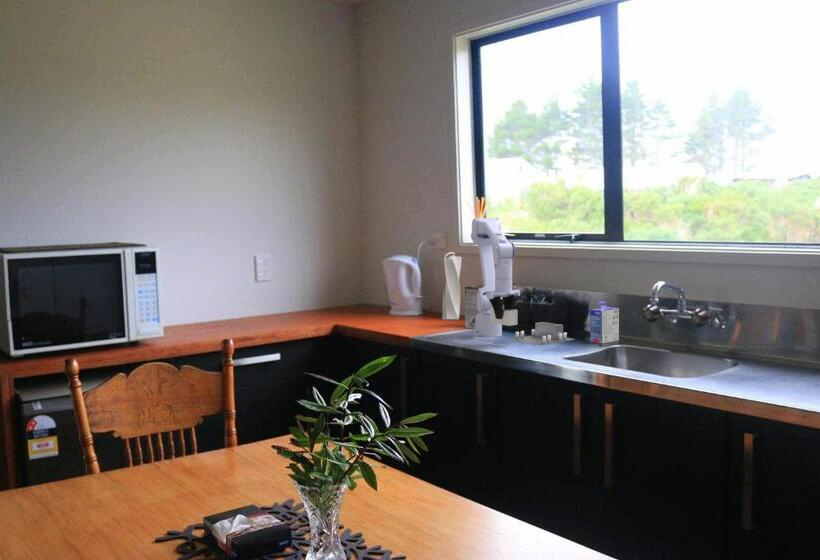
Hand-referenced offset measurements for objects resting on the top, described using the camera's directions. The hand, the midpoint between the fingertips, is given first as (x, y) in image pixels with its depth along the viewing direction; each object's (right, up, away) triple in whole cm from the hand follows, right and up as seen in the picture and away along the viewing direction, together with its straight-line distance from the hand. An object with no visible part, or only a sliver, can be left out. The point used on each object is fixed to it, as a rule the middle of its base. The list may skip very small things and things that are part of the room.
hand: (503, 318), depth 269 cm
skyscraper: (-14, -4, +65) cm, 66 cm away
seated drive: (+17, -7, +9) cm, 20 cm away
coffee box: (-5, -6, +41) cm, 42 cm away
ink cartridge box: (+35, -9, +3) cm, 36 cm away
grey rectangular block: (0, -2, 0) cm, 2 cm away
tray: (+14, -9, +6) cm, 17 cm away
